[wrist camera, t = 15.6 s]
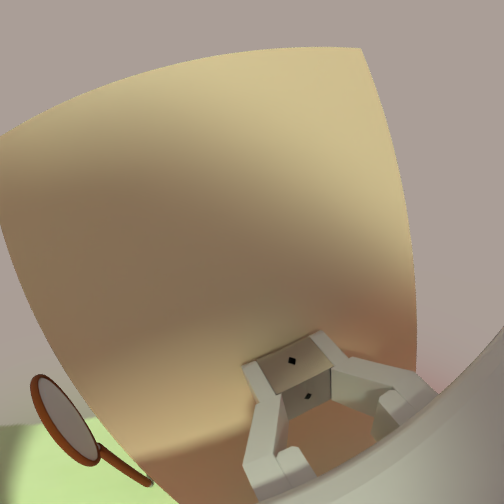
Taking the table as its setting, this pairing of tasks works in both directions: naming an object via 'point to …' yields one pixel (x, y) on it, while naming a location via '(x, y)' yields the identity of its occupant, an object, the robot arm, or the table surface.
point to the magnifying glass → (73, 428)
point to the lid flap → (213, 250)
